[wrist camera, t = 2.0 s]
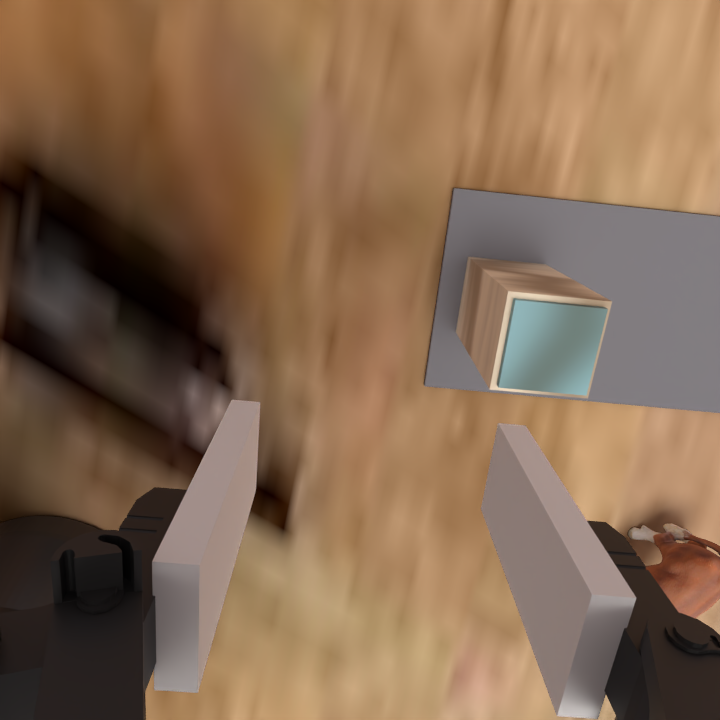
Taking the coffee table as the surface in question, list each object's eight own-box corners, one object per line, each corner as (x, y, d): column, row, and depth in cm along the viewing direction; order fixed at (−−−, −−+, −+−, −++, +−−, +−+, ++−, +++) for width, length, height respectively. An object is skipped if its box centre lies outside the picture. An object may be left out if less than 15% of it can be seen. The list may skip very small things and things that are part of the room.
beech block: (455, 332, 38) (491, 392, 29) (467, 256, 37) (510, 293, 27) (530, 339, 39) (591, 401, 29) (545, 264, 37) (615, 303, 27)
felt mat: (424, 384, 40) (424, 386, 40) (453, 188, 36) (454, 188, 35) (733, 412, 41) (736, 414, 41) (797, 224, 37) (802, 225, 36)
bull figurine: (532, 599, 46) (568, 687, 39) (670, 493, 43) (739, 566, 35) (566, 629, 47) (608, 721, 40) (704, 527, 44) (778, 605, 37)
